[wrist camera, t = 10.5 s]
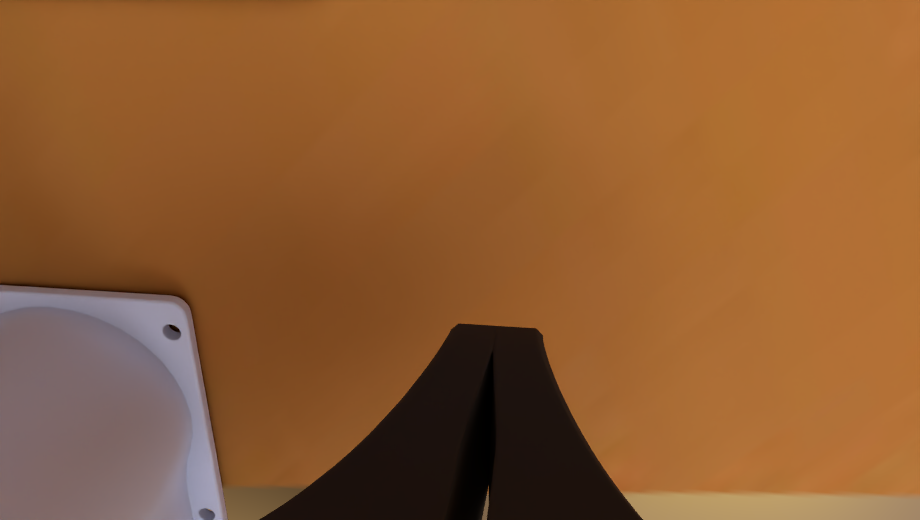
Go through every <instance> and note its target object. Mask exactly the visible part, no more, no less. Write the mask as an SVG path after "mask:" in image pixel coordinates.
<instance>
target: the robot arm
mask: <svg viewBox="0 0 920 520" xmlns="http://www.w3.org/2000/svg"><path fill="white" fill-rule="evenodd" d="M169 324H171V325H175V326H176V327H177V328H179V330H180V332H175V331H173V330H172V329H171V328H170V326H169ZM488 486H489V507H488V515H487V520H643V519H642V518H641V517H640V516H639V515H638V513H637V512H636V511H635V510H634V509H633V507H632V506H631V505H630V503H629V502H628V501H627V500H626V499H625V497H624V496H623V494H622V493H621V492H620V491H619V489H618V488H617V486H616V485H615V484H614V482H613V481H612V480H611V478H610V477H609V475H608V474H607V473H606V471H605V470H604V468H603V467H602V465H601V464H600V462H599V461H598V459H597V458H596V456H595V454H594V453H593V451H592V450H591V448H590V446H589V445H588V443H587V441H586V439H585V438H584V436H583V434H582V433H581V431H580V429H579V427H578V425H577V424H576V422H575V420H574V418H573V416H572V414H571V412H570V410H569V408H568V406H567V404H566V402H565V400H564V398H563V396H562V393H561V391H560V389H559V387H558V384H557V382H556V380H555V377H554V375H553V372H552V369H551V367H550V364H549V361H548V358H547V355H546V351H545V347H544V343H543V335H542V334H541V333H540V332H539V331H538V330H537V329H536V328H520V327H504V326H488V325H473V324H458V325H456V326H455V327H454V328H452V329H451V331H450V333H449V335H448V336H447V338H446V340H445V341H444V343H443V345H442V346H441V348H440V349H439V351H438V352H437V354H436V355H435V357H434V358H433V359H432V361H431V362H430V364H429V365H428V366H427V368H426V369H425V370H424V372H423V373H422V374H421V376H420V377H419V378H418V379H417V381H416V382H415V383H414V384H413V386H412V387H411V388H410V389H409V391H408V392H407V393H406V394H405V396H404V397H403V398H402V399H401V400H400V402H399V403H398V404H397V405H396V406H395V407H394V408H393V409H392V410H391V411H390V412H389V414H388V415H387V416H386V417H385V418H384V419H383V420H382V421H381V422H380V423H379V424H378V425H377V427H376V428H375V429H374V430H373V431H372V432H371V433H370V434H369V435H368V436H367V437H366V438H365V439H364V440H363V441H362V442H361V443H359V444H358V445H357V446H356V447H355V448H354V449H353V450H352V451H351V452H350V453H349V454H347V455H346V456H345V457H344V458H343V459H342V460H341V461H339V462H338V463H337V464H336V465H335V466H334V467H332V468H331V469H330V470H329V471H327V472H326V473H325V474H324V475H322V476H321V477H320V478H318V479H317V480H316V481H315V482H313V483H312V484H311V485H310V486H308V487H307V488H306V489H304V490H303V491H302V492H300V493H299V494H298V495H296V496H295V497H293V498H292V499H291V500H289V501H288V502H286V503H285V504H284V505H282V506H280V507H279V508H277V509H276V510H274V511H272V512H271V513H269V514H268V515H266V516H265V517H263V518H261V519H260V520H482V515H483V511H484V506H485V501H486V496H487V491H488ZM206 508H207V509H206ZM208 509H210V510H211V511H210V510H208ZM0 520H228V517H227V511H226V505H225V500H224V494H223V489H222V483H221V477H220V472H219V466H218V460H217V455H216V449H215V443H214V438H213V432H212V427H211V421H210V415H209V410H208V404H207V398H206V393H205V387H204V382H203V376H202V370H201V365H200V359H199V353H198V348H197V342H196V337H195V331H194V325H193V320H192V314H191V310H190V308H189V306H188V304H187V303H186V302H185V301H184V300H182V299H180V298H179V297H176V296H172V295H157V294H140V293H124V292H108V291H92V290H76V289H59V288H43V287H27V286H11V285H0Z"/></svg>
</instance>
